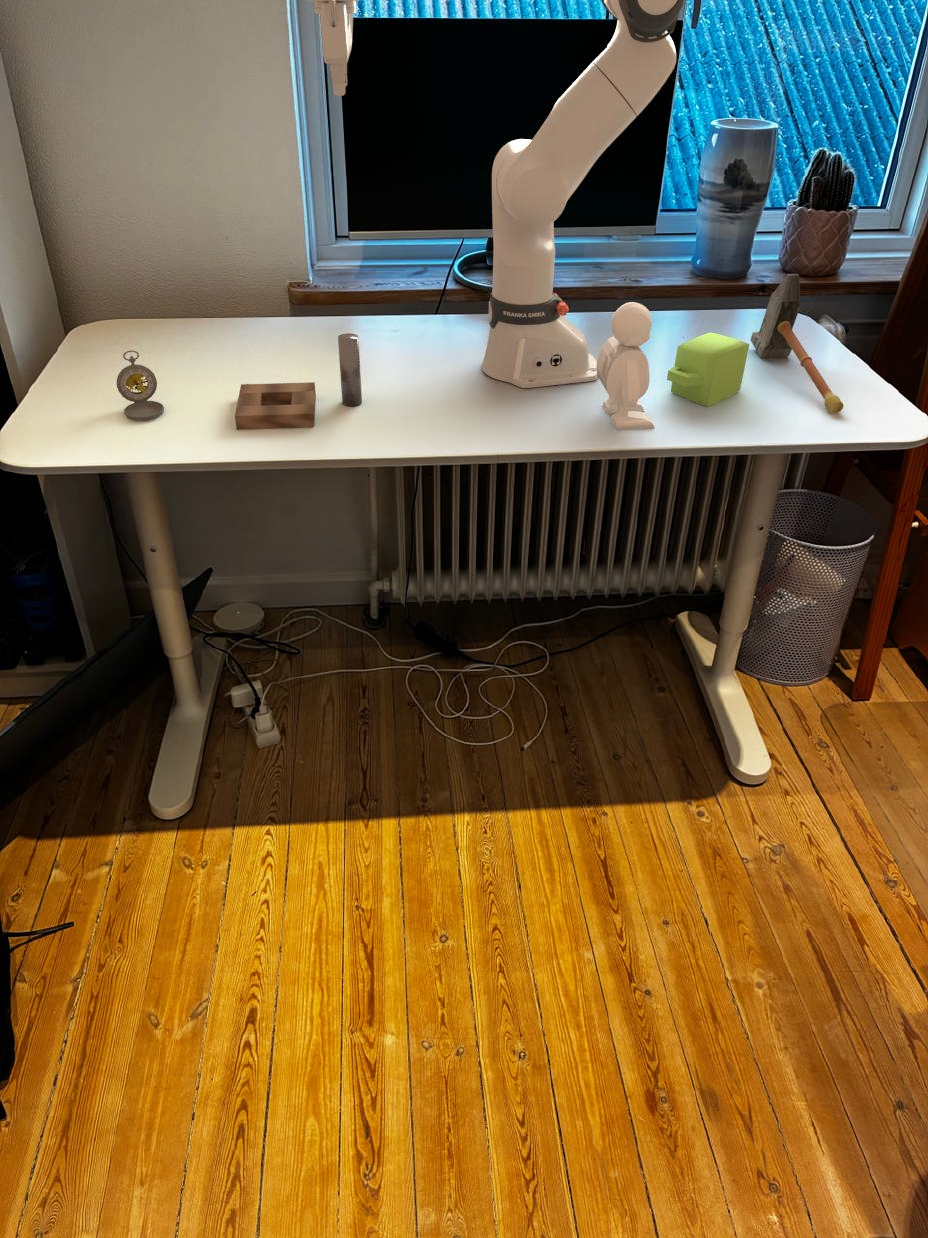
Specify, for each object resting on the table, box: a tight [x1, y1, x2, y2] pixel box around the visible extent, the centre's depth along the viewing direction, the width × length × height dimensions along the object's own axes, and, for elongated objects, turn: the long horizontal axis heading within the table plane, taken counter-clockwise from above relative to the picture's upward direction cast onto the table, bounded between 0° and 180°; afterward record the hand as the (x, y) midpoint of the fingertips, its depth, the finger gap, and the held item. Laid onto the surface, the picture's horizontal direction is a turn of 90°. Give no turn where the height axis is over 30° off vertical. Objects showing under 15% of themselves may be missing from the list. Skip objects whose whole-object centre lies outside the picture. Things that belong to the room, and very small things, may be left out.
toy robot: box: [596, 301, 655, 430], centre depth 161 cm, size 14×9×20 cm, turn 7°
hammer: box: [750, 273, 845, 414], centre depth 178 cm, size 6×16×31 cm
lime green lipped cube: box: [666, 332, 750, 407], centre depth 174 cm, size 18×10×10 cm, turn 135°
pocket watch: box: [116, 350, 165, 421], centre depth 163 cm, size 8×8×10 cm
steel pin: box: [337, 332, 363, 408], centre depth 166 cm, size 4×4×12 cm
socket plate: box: [234, 381, 317, 431], centre depth 166 cm, size 13×13×2 cm
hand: (340, 90), depth 152 cm, fingers open, 8 cm apart
